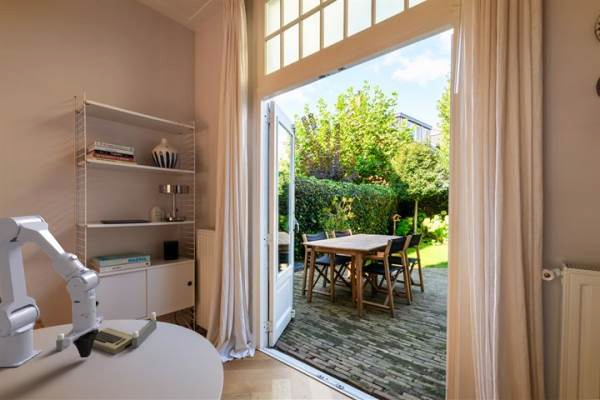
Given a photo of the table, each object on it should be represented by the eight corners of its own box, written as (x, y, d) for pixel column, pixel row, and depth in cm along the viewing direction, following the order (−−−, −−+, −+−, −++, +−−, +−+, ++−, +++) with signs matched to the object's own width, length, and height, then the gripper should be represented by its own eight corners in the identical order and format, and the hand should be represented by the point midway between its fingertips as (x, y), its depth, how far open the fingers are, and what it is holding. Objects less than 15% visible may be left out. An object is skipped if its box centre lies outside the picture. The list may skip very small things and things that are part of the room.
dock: (56, 351, 91) (56, 332, 91) (87, 329, 105) (86, 314, 105) (137, 348, 92) (136, 330, 92) (156, 327, 106) (156, 312, 106)
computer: (84, 345, 95) (84, 335, 95) (109, 334, 102) (109, 325, 102) (114, 356, 88) (113, 346, 88) (138, 344, 96) (138, 334, 96)
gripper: (80, 322, 79) (82, 370, 79) (112, 302, 93) (113, 343, 93) (54, 323, 78) (55, 371, 79) (90, 303, 93) (91, 343, 93)
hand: (85, 356), depth 86 cm, fingers closed
